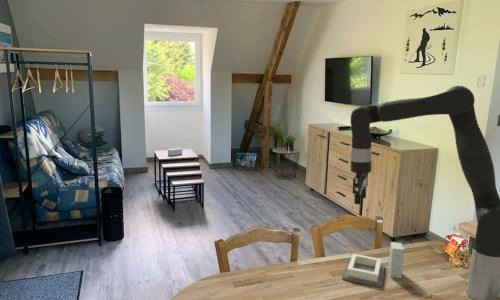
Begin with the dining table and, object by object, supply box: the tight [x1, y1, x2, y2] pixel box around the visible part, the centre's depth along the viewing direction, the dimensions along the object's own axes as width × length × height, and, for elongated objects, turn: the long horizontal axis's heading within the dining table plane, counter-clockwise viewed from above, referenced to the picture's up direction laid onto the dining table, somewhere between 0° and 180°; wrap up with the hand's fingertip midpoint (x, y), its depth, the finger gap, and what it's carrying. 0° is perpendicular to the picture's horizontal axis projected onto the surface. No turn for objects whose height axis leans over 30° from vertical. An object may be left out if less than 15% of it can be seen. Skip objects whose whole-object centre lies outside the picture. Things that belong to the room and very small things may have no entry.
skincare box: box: [387, 241, 405, 279], centre depth 148 cm, size 6×4×12 cm
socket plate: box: [341, 253, 386, 288], centre depth 149 cm, size 14×16×4 cm
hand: (360, 200), depth 147 cm, fingers open, 8 cm apart
